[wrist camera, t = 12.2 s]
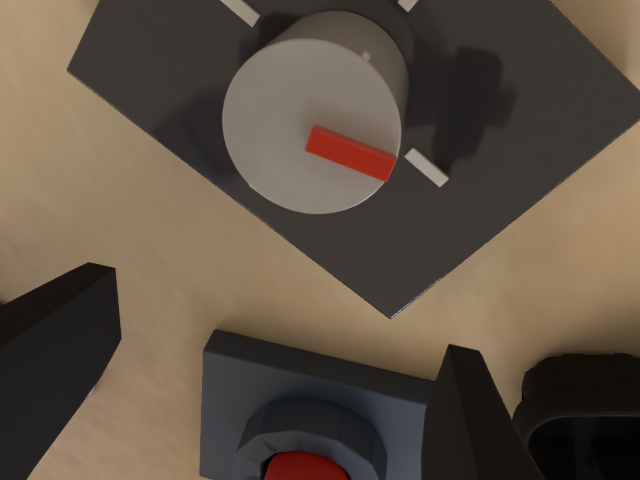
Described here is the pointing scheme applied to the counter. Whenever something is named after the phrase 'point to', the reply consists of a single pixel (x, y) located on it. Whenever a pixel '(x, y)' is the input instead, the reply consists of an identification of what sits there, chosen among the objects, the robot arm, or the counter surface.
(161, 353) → the counter surface
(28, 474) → the robot arm
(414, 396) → the switch block
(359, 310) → the counter surface
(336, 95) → the hob knob
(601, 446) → the egg carton
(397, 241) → the panel
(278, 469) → the power button
